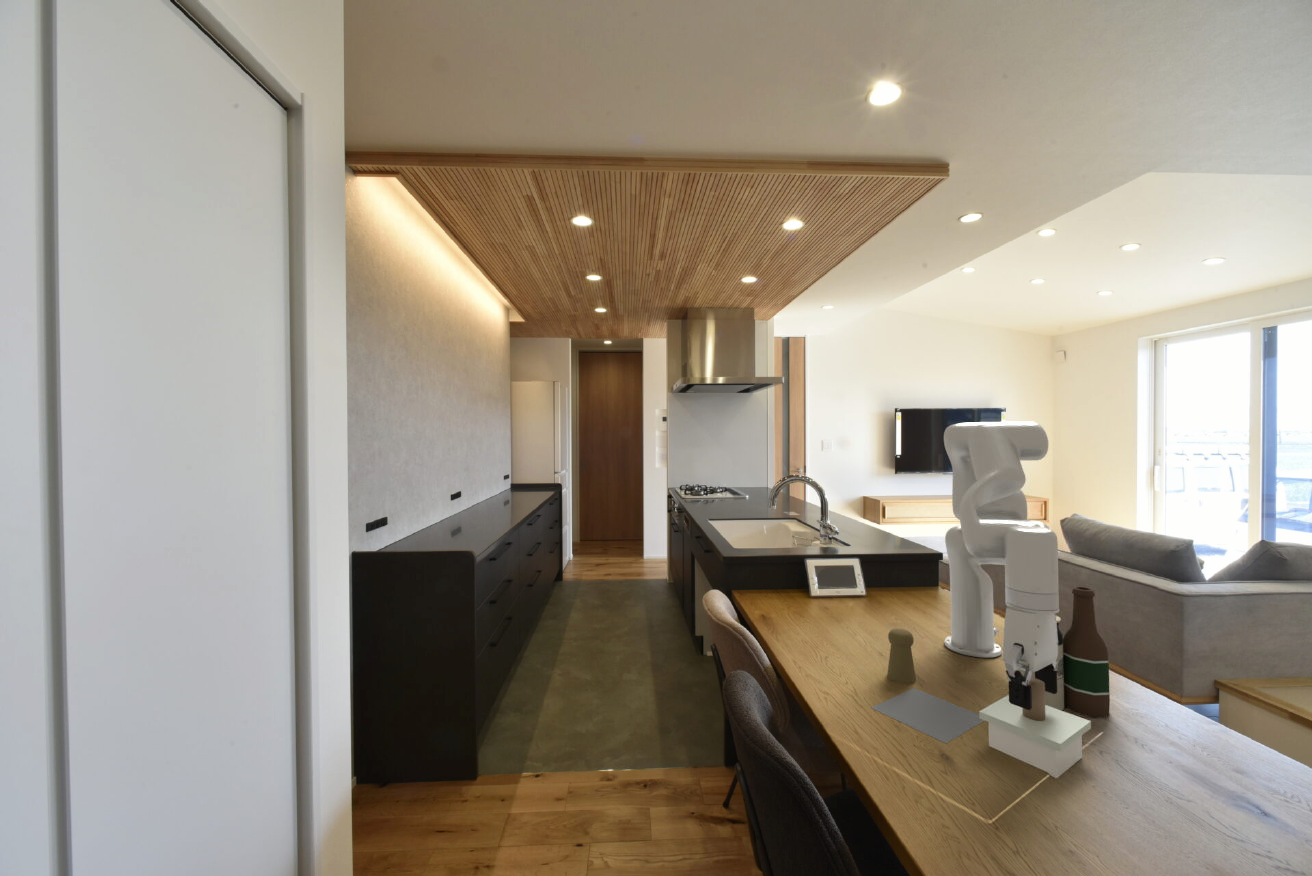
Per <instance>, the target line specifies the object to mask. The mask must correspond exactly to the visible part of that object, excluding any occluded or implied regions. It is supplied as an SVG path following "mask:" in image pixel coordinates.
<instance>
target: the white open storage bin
mask: <svg viewBox="0 0 1312 876" xmlns="http://www.w3.org/2000/svg"><path fill="white" fill-rule="evenodd" d="M987 722H988V721H987ZM1082 736H1083V735H1082ZM1082 736H1080V737H1079V738H1078V739H1077V740H1075V741H1074V742H1073V743H1071V744H1070V745H1069V746H1067V747H1066V748H1065V749H1064V750H1062V751H1061V752H1060V751H1058V750H1055V749H1053V748H1050V747H1048V746H1046V745H1043V744H1041V743H1038V742H1036V741H1033V740H1031V739H1029V738H1026V737H1024V736H1021V735H1019V734H1017V733H1014V732H1012V731H1009V730H1007V729H1004V728H1002V727H1000V726H997V725H995V724H992V723H990V722H988V746H989V747H991V748H993V749H995V750H997V751H998V752H999V751H1000V752H1002V753H1004V754H1006V755H1009V756H1010V757H1013V758H1014V759H1017V760H1020V761H1021V762H1024V763H1026V764H1028V765H1031V766H1033V767H1035V768H1037V769H1040V770H1041V771H1044V772H1046V773H1047V776H1050V777H1053V778H1054V779H1058V778H1059V777H1061V776H1062V775H1063V774H1064V773H1066V772H1067V771H1068V770H1069V769H1070V768H1071V767H1072V766H1074V765H1075V764H1076V763H1077V762H1079V761H1080V760H1081V759H1083V743H1082V741H1083V739H1082V738H1083V737H1082Z"/></svg>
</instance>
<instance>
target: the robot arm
mask: <svg viewBox="0 0 1312 876" xmlns="http://www.w3.org/2000/svg"><path fill="white" fill-rule="evenodd" d="M943 443H944V444H943V445H944V448H945V451H946V454H947V456H948V459H949V461H950V464H951V467H952V490H951V491H952V497H951V498H952V499H951V500H952V502H951V504H952V512H953V515H954V516H955V518H956V519H957V520H959V522H960V523H959V524H960V525H957V526H952V527H951V528H949V529H947V531H946V534H945V535H944V536H945V538H944V539H945V540H944V541H945V542H944V543H945V549H946V553H947V558H948V566H949V567H948V568H949V589H950V591H949V595H950V600H949V601H950V634H951V635H949V636H946V637H945V638H944V645H945V646H946V648H948V649H949V650H951V651H953V652H955V653H957V654H961V655H965V656H968V657H974V658H975V657H976V658H984V659H985V658H986V659H988V658H996V657H1000V656H1001V655H1002V659H1003V662H1004V666H1005V669H1006V670H1005V673H1006V675H1007V677H1006V679H1007V681H1008V695H1009V702H1010V703H1011V704H1013V705H1016V706H1019V707H1021V708H1024V709H1027V710H1030V709H1032V689H1031V685H1028V684H1029V681H1030V678H1031V674H1032V672H1035V678H1036V679H1039V680H1041V681H1043V682H1044V683H1045V691H1046V692H1049V693H1052V694H1056V693H1057V671H1055V670H1057V668H1058V664H1057V662H1056V659H1057V657H1058V633H1057V622H1056V614H1058V613H1059V612H1060V596H1059V595H1060V592H1059V591H1060V590H1059V588H1060V587H1059V547H1058V546H1059V545H1058V544H1059V543H1058V542H1059V541H1058V536H1057V533H1055V531H1053V530H1052V529H1050V527H1049V526H1048V525H1047V524H1046V523H1044V522H1042V521H1038V520H1034V519H1033V520H1031V519H1028V502H1027V498H1026V496H1025V495H1026V494H1024V492H1023V490H1021V489H1022V488H1023V487H1024V486H1025V483H1026V479H1027V478H1026V474H1025V472H1024V468H1023V466H1022V462H1023V461H1025V462H1026V461H1040V460H1042V459H1044V458H1045V457H1046V455H1047V453H1048V451H1049V438H1048V435H1047V432H1046V430H1045V429H1044V428H1043V426H1042V425H1040V424H1039V423H1037V422H1035V421H979V422H978V421H977V422H976V421H975V422H972V421H971V422H959V423H955V424H950V425H949V426H947V427H946V428H945V430H944V432H943ZM981 565H998V566H999V565H1001V566H1004V576H1005V577H1004V578H1005V579H1004V583H1005V585H1004V586H1005V587H1004V589H1005V591H1004V593H1005V600H1004V601H1005V605H1006V606H1007V607H1006V610H1005V616H1004V623H1003V640H1002V641H1003V643H1002V647H1001V646H1000V645H999V644H997V643H996V642H995V637H996V636H998V635H999V634H1000V631H999V629H998V628H997V627H994V626H995V620H994V619H995V618H994V615H995V614H994V613H995V612H994V584H993V580H992V578H991V577H990V575H989V574H988V572H986V571H985V570H984V569H983V568H982V567H981ZM1018 662H1021V663H1024V664H1028V666H1026V665H1023V664H1020V663H1018ZM1017 669H1020V670H1024V671H1025V673H1024V676H1023V675H1022V674H1021V672H1020V671H1018V670H1017ZM1053 669H1054V670H1053Z"/></svg>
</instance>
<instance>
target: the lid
mask: <svg viewBox="0 0 1312 876" xmlns="http://www.w3.org/2000/svg"><path fill="white" fill-rule="evenodd" d="M1028 685H1031V689H1032V709H1030V710H1027V709H1024V708H1021V707H1019V706H1016V705H1013V704H1011V703H1010V702H1009V694H1007V695H1006V696H1004V697H1002V698H1000V699H999V700H997V701H994V702H993V703H992V704H990V705H988V706H986V707H985V708H983V709H981V710H979V712H978V714H979V718H980V719H983V720H985V721H986V722H990V723H992V724H995V725H997V726H1000V727H1002V728H1004V729H1007V730H1009V731H1012V732H1014V733H1017V734H1019V735H1021V736H1024V737H1026V738H1029V739H1031V740H1033V741H1036V742H1038V743H1041V744H1043V745H1046V746H1048V747H1050V748H1053V749H1055V750H1058V751H1060V752H1061V751H1062V750H1064V749H1065V748H1066V747H1067V746H1069V745H1070V744H1071V743H1073V742H1074V741H1075V740H1077V739H1078V738H1079V737H1080V736H1083V735H1084V734H1086V733H1087V732H1088V731H1089V730H1091V729H1092V721H1091V720H1090V719H1089V720H1088V719H1086V718H1082V717H1080V716H1077V715H1075V714H1072V713H1070V712H1066V711H1063V710H1058V709H1055V708H1052V707H1050V706H1047V705H1045V683H1044V682H1043V681H1041V680H1039V679H1036V678H1032V677H1031V678H1030V681H1029V684H1028ZM985 721H984V722H985Z"/></svg>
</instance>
